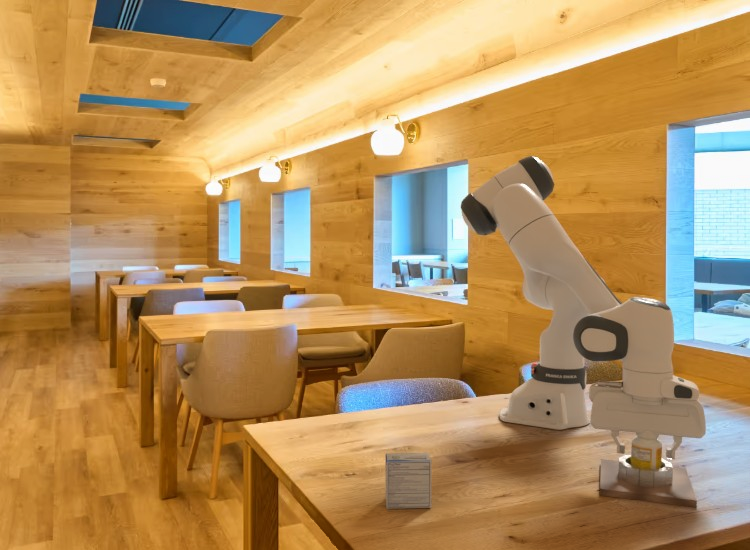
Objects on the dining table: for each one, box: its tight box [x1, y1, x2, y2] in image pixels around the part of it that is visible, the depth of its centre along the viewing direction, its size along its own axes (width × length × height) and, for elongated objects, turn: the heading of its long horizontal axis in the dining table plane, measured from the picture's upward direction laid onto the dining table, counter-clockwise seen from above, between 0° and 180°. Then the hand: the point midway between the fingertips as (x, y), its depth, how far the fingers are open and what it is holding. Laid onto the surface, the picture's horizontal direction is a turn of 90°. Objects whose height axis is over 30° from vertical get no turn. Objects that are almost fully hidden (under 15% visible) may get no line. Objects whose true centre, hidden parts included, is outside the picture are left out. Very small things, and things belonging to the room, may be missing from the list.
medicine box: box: [384, 452, 433, 510], centre depth 116 cm, size 8×4×9 cm, turn 92°
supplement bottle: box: [630, 431, 663, 469], centre depth 126 cm, size 5×5×10 cm
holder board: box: [599, 454, 698, 508], centre depth 126 cm, size 16×17×4 cm
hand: (645, 455), depth 126 cm, fingers open, 7 cm apart
